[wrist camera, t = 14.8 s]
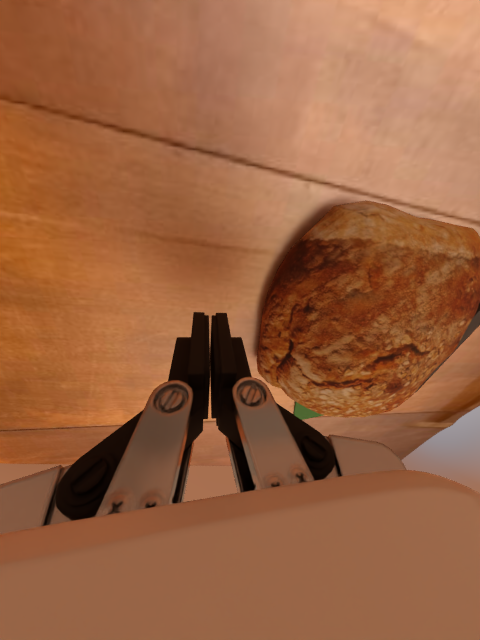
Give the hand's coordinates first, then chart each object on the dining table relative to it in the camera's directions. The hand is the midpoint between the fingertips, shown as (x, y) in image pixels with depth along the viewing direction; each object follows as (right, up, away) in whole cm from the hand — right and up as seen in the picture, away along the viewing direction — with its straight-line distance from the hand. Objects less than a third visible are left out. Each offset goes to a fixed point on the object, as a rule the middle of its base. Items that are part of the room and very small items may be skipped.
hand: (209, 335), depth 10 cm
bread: (+14, +3, +12) cm, 19 cm away
